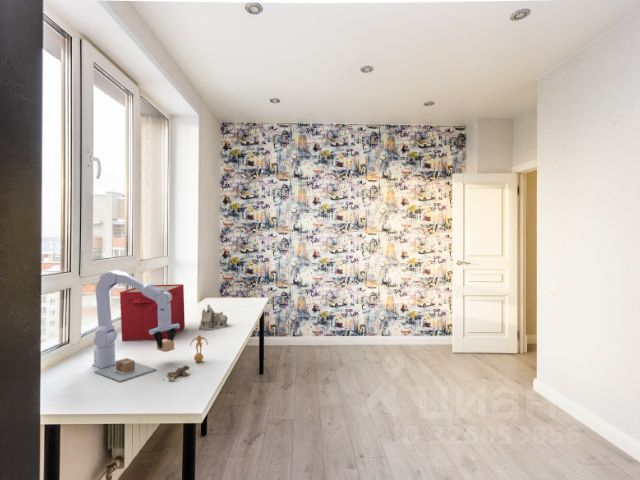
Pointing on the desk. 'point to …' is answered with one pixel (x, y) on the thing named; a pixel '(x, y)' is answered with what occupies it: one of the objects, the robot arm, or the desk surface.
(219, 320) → the stone castle ruin
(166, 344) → the terracotta block
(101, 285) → the robot arm
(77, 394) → the desk surface
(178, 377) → the frog figurine
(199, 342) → the figurine
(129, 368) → the walnut block
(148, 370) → the board
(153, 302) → the storage cube
